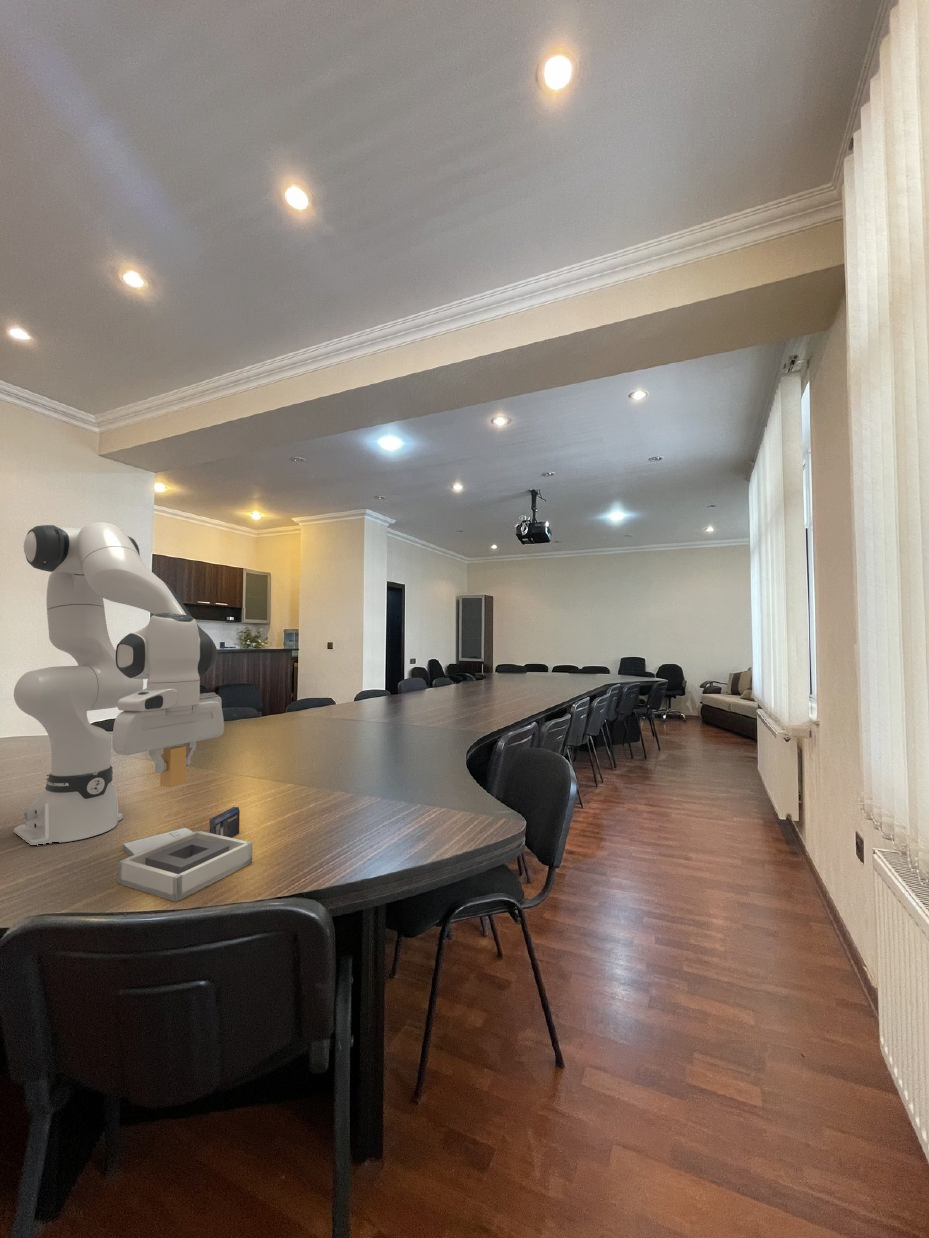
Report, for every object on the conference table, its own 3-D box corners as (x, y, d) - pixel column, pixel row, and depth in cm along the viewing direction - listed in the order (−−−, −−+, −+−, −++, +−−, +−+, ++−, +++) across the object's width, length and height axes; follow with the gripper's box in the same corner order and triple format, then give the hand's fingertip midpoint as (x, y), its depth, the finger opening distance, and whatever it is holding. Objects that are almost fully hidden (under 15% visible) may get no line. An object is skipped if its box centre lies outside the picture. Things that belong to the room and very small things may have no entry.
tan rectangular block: (160, 785, 92) (160, 748, 92) (175, 781, 95) (175, 745, 95) (170, 787, 91) (171, 749, 91) (185, 783, 93) (186, 746, 94)
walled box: (118, 883, 89) (118, 861, 89) (197, 849, 104) (197, 830, 104) (176, 901, 83) (176, 877, 83) (252, 862, 97) (252, 842, 97)
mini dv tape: (215, 847, 105) (215, 819, 105) (209, 847, 105) (209, 819, 105) (239, 833, 113) (239, 806, 113) (233, 832, 113) (233, 806, 113)
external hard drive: (122, 850, 104) (185, 833, 114) (134, 861, 99) (198, 842, 108) (122, 843, 104) (185, 826, 114) (134, 853, 99) (199, 835, 108)
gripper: (210, 691, 104) (210, 756, 104) (107, 701, 86) (106, 781, 85) (231, 691, 102) (231, 758, 101) (129, 702, 83) (128, 784, 82)
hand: (173, 768), depth 93 cm, fingers closed on tan rectangular block, 3 cm apart
